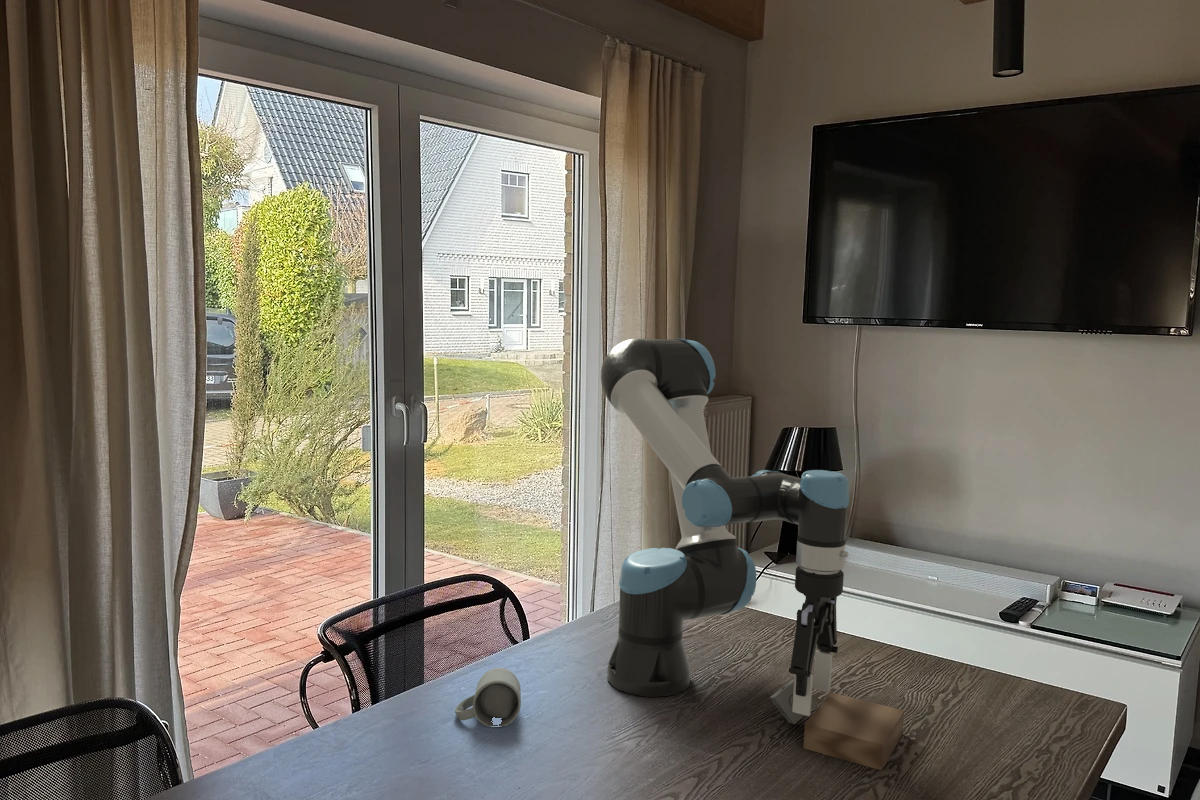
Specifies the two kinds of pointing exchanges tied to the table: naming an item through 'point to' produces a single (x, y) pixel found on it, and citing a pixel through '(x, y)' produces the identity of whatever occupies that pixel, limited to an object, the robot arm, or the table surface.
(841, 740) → the brown flat block
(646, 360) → the robot arm
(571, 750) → the table surface
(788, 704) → the dice cube
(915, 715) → the table surface
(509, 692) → the ceramic mug
